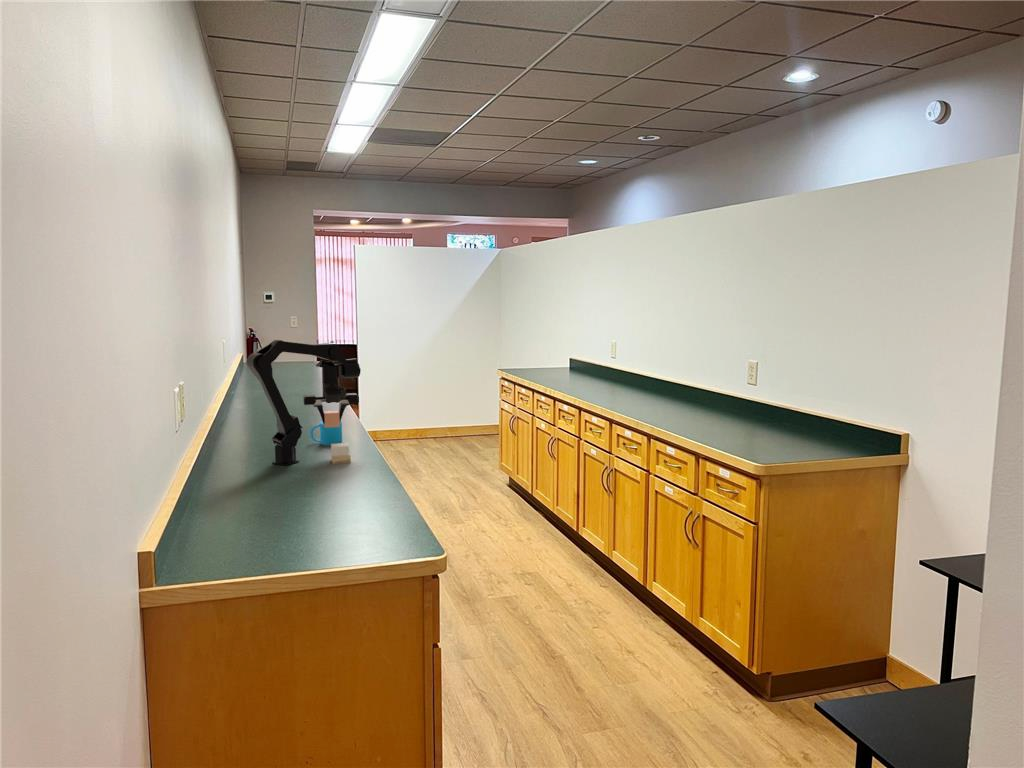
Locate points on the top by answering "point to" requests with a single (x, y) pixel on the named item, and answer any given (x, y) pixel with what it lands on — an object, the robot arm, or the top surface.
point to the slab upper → (339, 449)
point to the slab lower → (341, 459)
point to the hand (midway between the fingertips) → (331, 423)
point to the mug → (328, 434)
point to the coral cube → (331, 419)
